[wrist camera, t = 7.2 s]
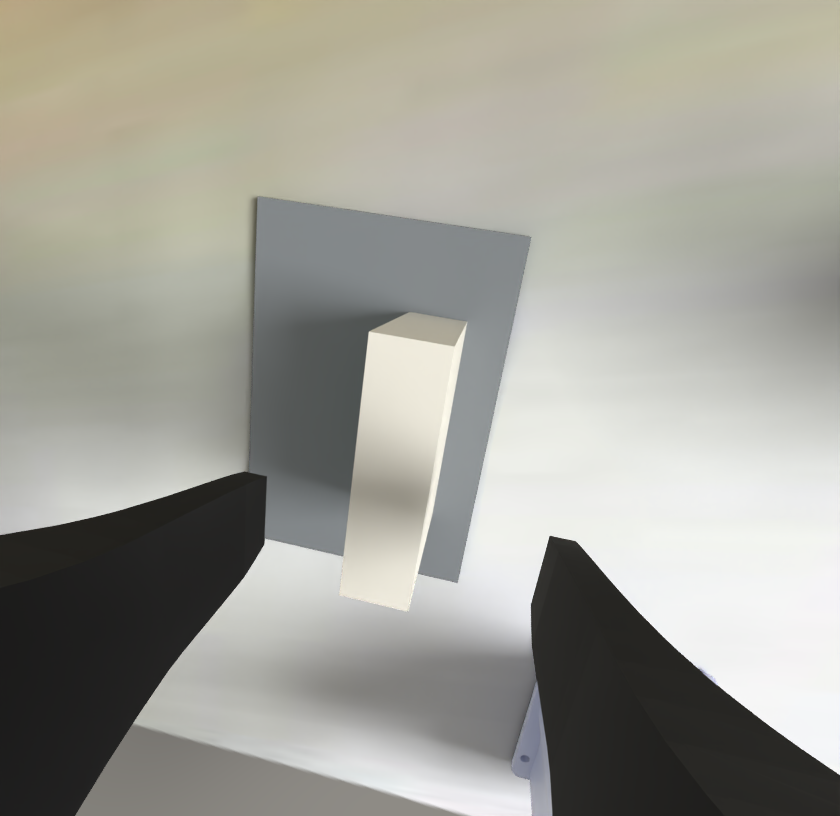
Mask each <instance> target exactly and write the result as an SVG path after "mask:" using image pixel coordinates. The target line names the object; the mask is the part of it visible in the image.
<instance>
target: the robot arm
mask: <svg viewBox="0 0 840 816" xmlns="http://www.w3.org/2000/svg"><path fill="white" fill-rule="evenodd" d="M266 490H267V476H263V475H258V474H254V473H249V472H241V473H237V474H233V475H230V476H226V477H223V478H220V479H217V480H214V481H211V482H208V483H205V484H202V485H199V486H196V487H193V488H190V489H187V490H184V491H181V492H178V493H175V494H172V495H169V496H166V497H163V498H160V499H157V500H153V501H150V502H147V503H143V504H140V505H137V506H133V507H130V508H127V509H123V510H120V511H116V512H113V513H109V514H105V515H101V516H97V517H93V518H88V519H84V520H80V521H75V522H71V523H66V524H61V525H57V526H51V527H45V528H39V529H34V530H28V531H22V532H16V533H10V534H5V535H0V816H75V815H76V813H77V811H78V810H79V808H80V807H81V805H82V803H83V801H84V800H85V798H86V797H87V795H88V793H89V792H90V790H91V789H92V787H93V785H94V784H95V782H96V780H97V779H98V777H99V775H100V774H101V772H102V771H103V769H104V767H105V766H106V764H107V762H108V761H109V759H110V758H111V756H112V755H113V753H114V752H115V750H116V749H117V747H118V746H119V744H120V742H121V741H122V739H123V738H124V736H125V735H126V733H127V732H128V730H129V728H130V727H131V725H132V724H133V722H134V721H135V719H136V718H137V716H138V715H139V713H140V712H141V710H142V709H143V707H144V706H145V704H146V703H147V701H148V700H149V698H150V697H151V695H152V694H153V692H154V691H155V690H156V688H157V687H158V685H159V684H160V682H161V681H162V679H163V678H164V676H165V675H166V673H167V672H168V671H169V669H170V668H171V667H172V665H173V664H174V663H175V661H176V660H177V659H178V657H179V656H180V655H181V654H182V652H183V651H184V650H185V649H186V647H187V646H188V645H189V644H190V643H191V641H192V640H193V639H194V638H195V636H196V635H197V634H198V633H199V632H200V630H201V629H202V628H203V627H204V626H205V624H206V623H207V622H208V621H209V620H210V618H211V617H212V616H213V615H214V614H215V612H216V611H217V610H218V609H219V607H220V606H221V605H222V604H223V603H224V601H225V600H226V599H227V598H228V596H229V595H230V594H231V593H232V592H233V590H234V589H235V588H236V587H237V585H238V584H239V583H240V582H241V580H242V579H243V578H244V576H245V575H246V573H247V572H248V570H249V569H250V567H251V565H252V564H253V562H254V561H255V559H256V557H257V556H258V554H259V552H260V551H261V549H262V547H263V546H264V541H265V516H266ZM531 632H532V650H533V657H534V664H535V671H536V678H537V681H536V684H535V688H534V691H533V694H532V697H531V701H530V704H529V707H528V711H527V714H526V717H525V720H524V724H523V727H522V730H521V733H520V737H519V740H518V743H517V746H516V750H515V753H514V756H513V759H512V772H513V773H514V774H515V775H516V776H518V777H521V778H525V779H528V780H530V792H531V806H532V816H840V775H839V774H837V773H836V772H834V771H833V770H831V769H830V768H828V767H827V766H825V765H824V764H823V763H821V762H820V761H818V760H817V759H815V758H814V757H812V756H811V755H809V754H808V753H806V752H805V751H804V750H802V749H801V748H799V747H798V746H796V745H795V744H794V743H792V742H791V741H789V740H788V739H787V738H785V737H784V736H782V735H781V734H780V733H778V732H777V731H776V730H774V729H773V728H771V727H770V726H769V725H767V724H766V723H765V722H763V721H762V720H761V719H760V718H758V717H757V716H756V715H754V714H753V713H752V712H750V711H749V710H748V709H747V708H745V707H744V706H743V705H741V704H740V703H739V702H738V701H736V700H735V699H734V698H732V697H731V696H730V695H729V694H727V693H726V692H725V691H724V690H722V689H721V688H720V687H719V686H718V684H717V682H716V680H715V678H713V677H712V676H710V675H708V674H704V673H702V672H701V671H700V670H699V669H698V668H697V667H695V666H694V665H693V664H692V663H691V662H690V661H689V660H688V659H686V658H685V657H684V656H683V655H682V654H681V653H680V652H678V651H677V650H676V649H675V648H674V647H673V646H672V645H671V644H670V643H669V642H668V641H667V640H666V639H665V638H664V637H663V636H662V635H661V634H660V633H659V632H658V631H657V630H656V629H655V628H654V627H653V626H652V625H651V624H650V623H649V622H648V621H647V620H646V619H645V618H644V617H643V616H642V615H641V614H640V613H639V612H638V611H637V610H636V609H635V608H634V607H633V606H632V605H631V604H630V602H629V601H628V600H627V599H626V598H625V597H624V596H623V595H622V594H621V592H620V591H619V590H618V589H617V588H616V587H615V586H614V585H613V583H612V582H611V581H610V580H609V579H608V578H607V577H606V575H605V574H604V573H603V572H602V571H601V570H600V568H599V567H598V566H597V565H596V564H595V562H594V561H593V560H592V559H591V558H590V557H589V555H588V554H587V553H586V552H585V551H584V550H583V549H582V547H581V546H580V545H579V544H578V543H577V542H576V541H572V540H567V539H562V538H558V537H553V536H550V537H549V541H548V544H547V548H546V552H545V555H544V559H543V563H542V566H541V570H540V574H539V577H538V581H537V585H536V588H535V592H534V596H533V599H532V603H531Z"/></svg>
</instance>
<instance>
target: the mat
mask: <svg viewBox="0 0 840 816" xmlns="http://www.w3.org/2000/svg"><path fill="white" fill-rule="evenodd" d="M530 241H531V237H529V236H522V235H515V234H509V233H502V232H495V231H488V230H482V229H475V228H468V227H461V226H455V225H448V224H441V223H434V222H428V221H421V220H414V219H407V218H401V217H394V216H387V215H380V214H374V213H367V212H360V211H353V210H347V209H340V208H333V207H326V206H320V205H313V204H306V203H299V202H293V201H286V200H279V199H272V198H266V197H259V196H258V198H257V230H256V262H255V294H254V325H253V357H252V389H251V421H250V452H249V473H254V474H258V475H263V476H267V490H266V516H265V538H266V539H270V540H274V541H279V542H283V543H287V544H292V545H296V546H300V547H305V548H309V549H313V550H318V551H322V552H326V553H331V554H335V555H339V556H344V548H345V539H346V530H347V521H348V512H349V503H350V494H351V486H352V477H353V468H354V459H355V450H356V441H357V432H358V424H359V415H360V406H361V397H362V388H363V379H364V370H365V362H366V353H367V344H368V335H369V331H371V330H373V329H375V328H377V327H379V326H381V325H384V324H386V323H388V322H390V321H392V320H394V319H396V318H398V317H400V316H402V315H404V314H406V313H409V312H413V313H419V314H425V315H431V316H437V317H443V318H448V319H454V320H460V321H466V322H467V326H466V332H465V337H464V343H463V348H462V354H461V359H460V365H459V370H458V376H457V382H456V387H455V393H454V398H453V404H452V409H451V415H450V420H449V426H448V431H447V437H446V442H445V448H444V453H443V459H442V464H441V470H440V475H439V481H438V486H437V492H436V497H435V503H434V508H433V514H432V518H431V522H430V526H429V530H428V534H427V538H426V542H425V546H424V550H423V554H422V558H421V562H420V566H419V570H418V574H421V575H426V576H430V577H434V578H439V579H443V580H447V581H452V582H456V583H458V578H459V573H460V569H461V564H462V559H463V555H464V550H465V545H466V541H467V536H468V531H469V526H470V522H471V517H472V512H473V508H474V503H475V498H476V494H477V489H478V484H479V480H480V475H481V470H482V466H483V461H484V456H485V452H486V447H487V442H488V437H489V433H490V428H491V423H492V419H493V414H494V409H495V405H496V400H497V395H498V391H499V386H500V381H501V377H502V372H503V367H504V363H505V358H506V353H507V348H508V344H509V339H510V334H511V330H512V325H513V320H514V316H515V311H516V306H517V302H518V297H519V292H520V288H521V283H522V278H523V274H524V269H525V264H526V259H527V255H528V250H529V245H530Z"/></svg>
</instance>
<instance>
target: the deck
mask: <svg viewBox="0 0 840 816" xmlns="http://www.w3.org/2000/svg"><path fill="white" fill-rule="evenodd" d="M466 326H467V322H466V321H460V320H454V319H448V318H443V317H437V316H431V315H425V314H419V313H413V312H409V313H406V314H404V315H402V316H400V317H398V318H396V319H394V320H392V321H390V322H388V323H386V324H384V325H381V326H379V327H377V328H375V329H373V330H371V331H369V335H368V344H367V353H366V362H365V370H364V379H363V388H362V397H361V406H360V415H359V424H358V432H357V441H356V450H355V459H354V468H353V477H352V486H351V494H350V503H349V512H348V521H347V530H346V539H345V548H344V556H343V565H342V574H341V583H340V592H339V595H340V596H344V597H348V598H353V599H357V600H361V601H365V602H369V603H373V604H377V605H382V606H386V607H390V608H394V609H398V610H402V611H407V612H408V610H409V606H410V602H411V598H412V594H413V590H414V586H415V582H416V578H417V574H418V570H419V566H420V562H421V558H422V554H423V550H424V546H425V542H426V538H427V534H428V530H429V526H430V522H431V518H432V514H433V508H434V503H435V497H436V492H437V486H438V481H439V475H440V470H441V464H442V459H443V453H444V448H445V442H446V437H447V431H448V426H449V420H450V415H451V409H452V404H453V398H454V393H455V387H456V382H457V376H458V370H459V365H460V359H461V354H462V348H463V343H464V337H465V332H466Z"/></svg>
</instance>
